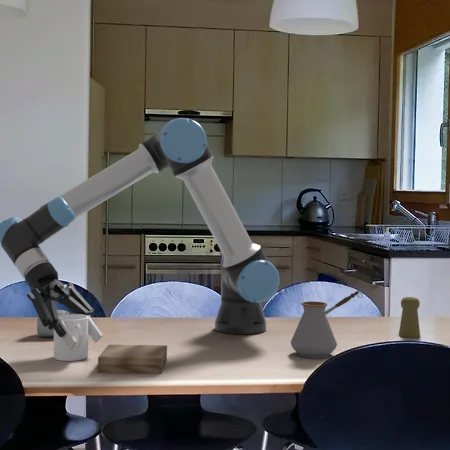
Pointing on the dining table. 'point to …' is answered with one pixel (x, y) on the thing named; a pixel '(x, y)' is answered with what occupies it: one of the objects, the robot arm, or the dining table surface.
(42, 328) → the ceramic mug
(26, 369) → the dining table surface
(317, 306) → the coffee pot
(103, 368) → the dock
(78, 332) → the mug
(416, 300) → the cork
